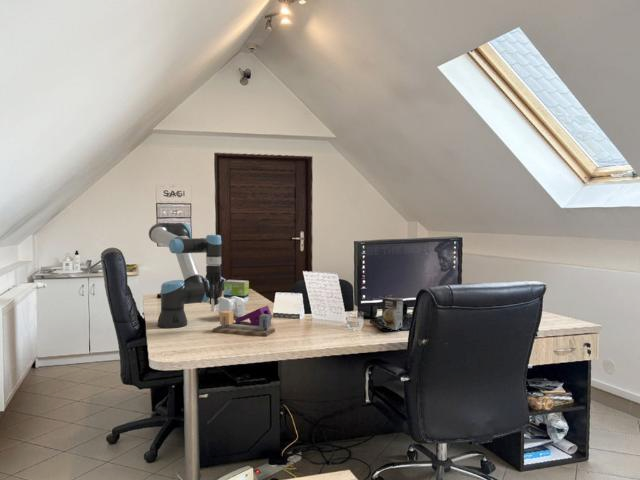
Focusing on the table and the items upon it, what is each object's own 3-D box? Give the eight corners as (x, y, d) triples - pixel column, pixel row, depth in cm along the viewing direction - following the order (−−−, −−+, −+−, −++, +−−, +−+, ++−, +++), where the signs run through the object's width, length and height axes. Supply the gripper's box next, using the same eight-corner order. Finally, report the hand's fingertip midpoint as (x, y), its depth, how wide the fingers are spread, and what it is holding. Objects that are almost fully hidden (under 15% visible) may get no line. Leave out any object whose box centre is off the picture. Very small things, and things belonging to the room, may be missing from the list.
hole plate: (212, 332, 241) (212, 328, 241) (222, 327, 252) (222, 324, 252) (266, 336, 234) (266, 333, 234) (274, 331, 244) (275, 328, 244)
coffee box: (381, 328, 254) (381, 298, 254) (388, 326, 259) (388, 296, 258) (395, 331, 248) (396, 300, 248) (402, 329, 253) (403, 298, 252)
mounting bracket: (237, 336, 260) (265, 323, 254) (231, 321, 261) (259, 308, 255) (246, 332, 269) (273, 320, 263) (240, 317, 270) (267, 305, 264)
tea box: (223, 302, 331) (223, 281, 330) (228, 300, 341) (228, 279, 340) (244, 303, 328) (244, 281, 328) (249, 301, 338) (249, 280, 338)
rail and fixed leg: (218, 328, 243) (218, 313, 243) (224, 325, 250) (224, 311, 249) (265, 331, 236) (266, 316, 236) (270, 329, 243) (270, 314, 242)
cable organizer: (217, 316, 282) (217, 296, 281) (234, 314, 288) (234, 295, 287) (228, 321, 269) (228, 300, 269) (245, 319, 276) (245, 298, 275)
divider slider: (218, 327, 243) (218, 312, 243) (224, 324, 250) (224, 310, 249) (227, 327, 242) (227, 313, 242) (233, 325, 248) (233, 311, 248)
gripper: (198, 265, 246) (198, 311, 246) (221, 265, 242) (221, 313, 243) (205, 264, 253) (206, 309, 253) (228, 264, 249) (228, 310, 250)
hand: (213, 311), depth 248 cm, fingers closed
